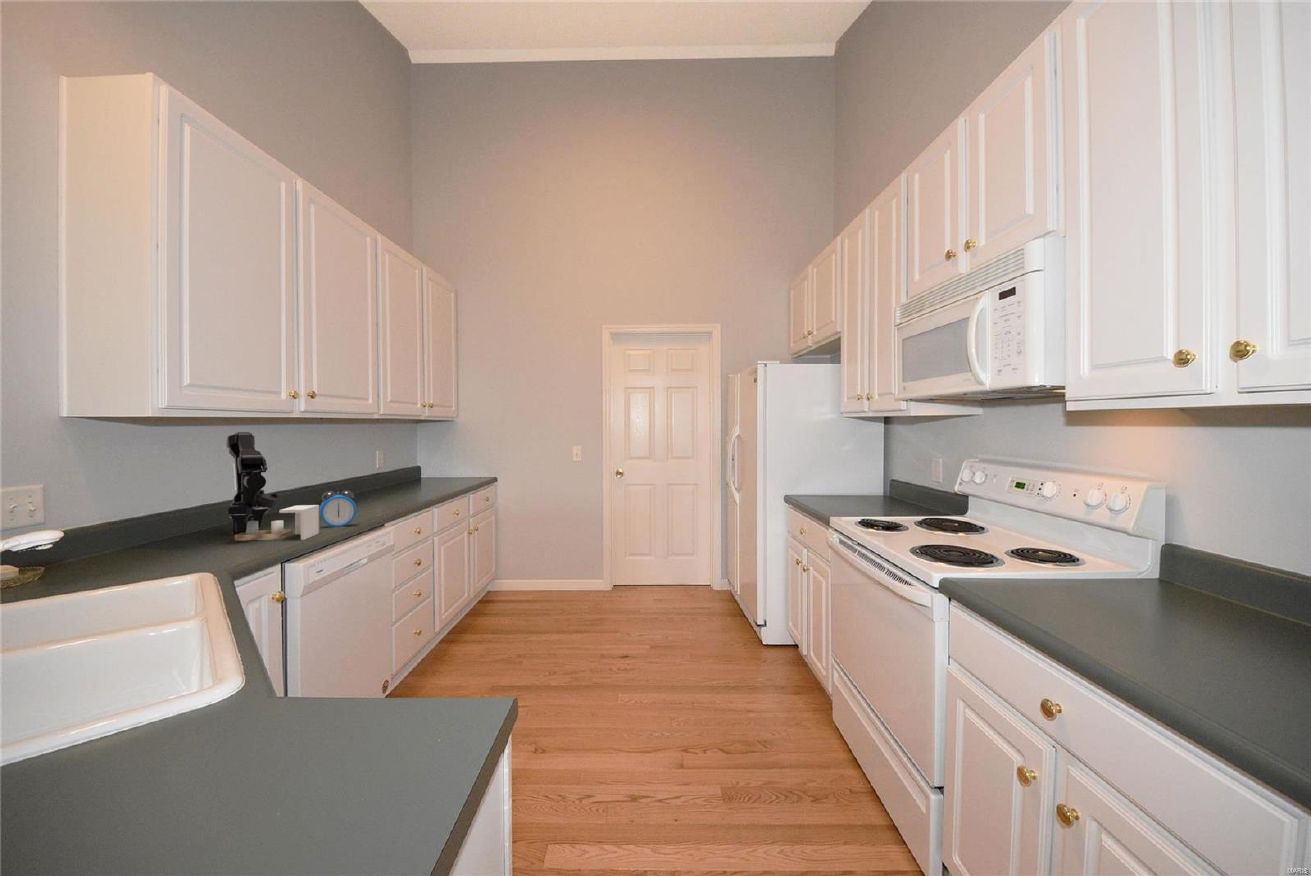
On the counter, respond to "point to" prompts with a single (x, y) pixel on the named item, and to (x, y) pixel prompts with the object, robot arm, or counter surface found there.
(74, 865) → the counter surface
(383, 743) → the counter surface
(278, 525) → the white rounded cylinder
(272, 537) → the tray
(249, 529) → the grey rounded cylinder
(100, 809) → the counter surface
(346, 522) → the alarm clock
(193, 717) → the counter surface
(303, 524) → the white l-shaped bracket
